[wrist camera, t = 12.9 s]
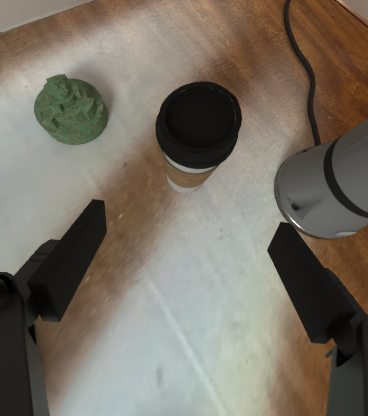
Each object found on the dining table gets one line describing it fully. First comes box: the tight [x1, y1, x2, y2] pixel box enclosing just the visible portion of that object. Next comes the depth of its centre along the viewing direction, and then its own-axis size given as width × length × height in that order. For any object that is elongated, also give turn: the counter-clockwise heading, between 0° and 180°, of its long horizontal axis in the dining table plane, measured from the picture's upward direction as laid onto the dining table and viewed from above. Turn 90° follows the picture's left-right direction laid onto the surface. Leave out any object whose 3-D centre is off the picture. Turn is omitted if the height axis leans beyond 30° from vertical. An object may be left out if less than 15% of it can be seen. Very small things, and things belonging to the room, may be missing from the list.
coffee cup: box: [156, 81, 242, 193], centre depth 26 cm, size 8×8×15 cm
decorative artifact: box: [34, 74, 108, 145], centre depth 30 cm, size 10×7×10 cm
